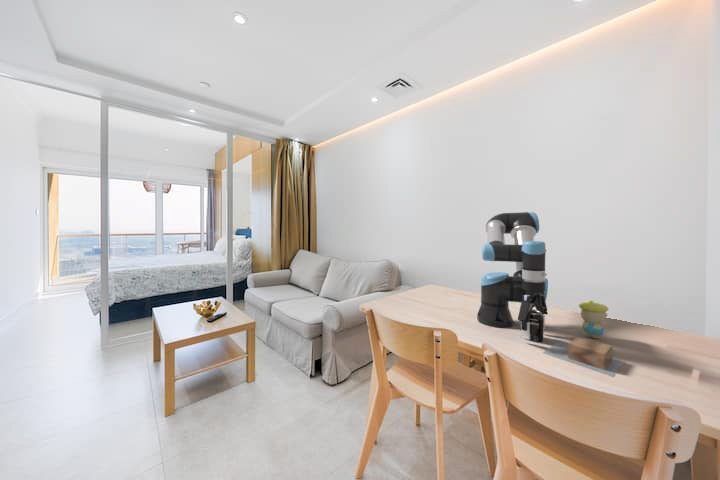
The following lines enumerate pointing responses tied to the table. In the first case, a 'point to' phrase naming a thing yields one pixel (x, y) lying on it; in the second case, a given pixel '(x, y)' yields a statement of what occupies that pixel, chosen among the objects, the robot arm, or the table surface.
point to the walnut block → (590, 352)
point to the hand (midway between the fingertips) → (533, 333)
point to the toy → (593, 318)
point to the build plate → (561, 352)
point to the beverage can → (536, 326)
